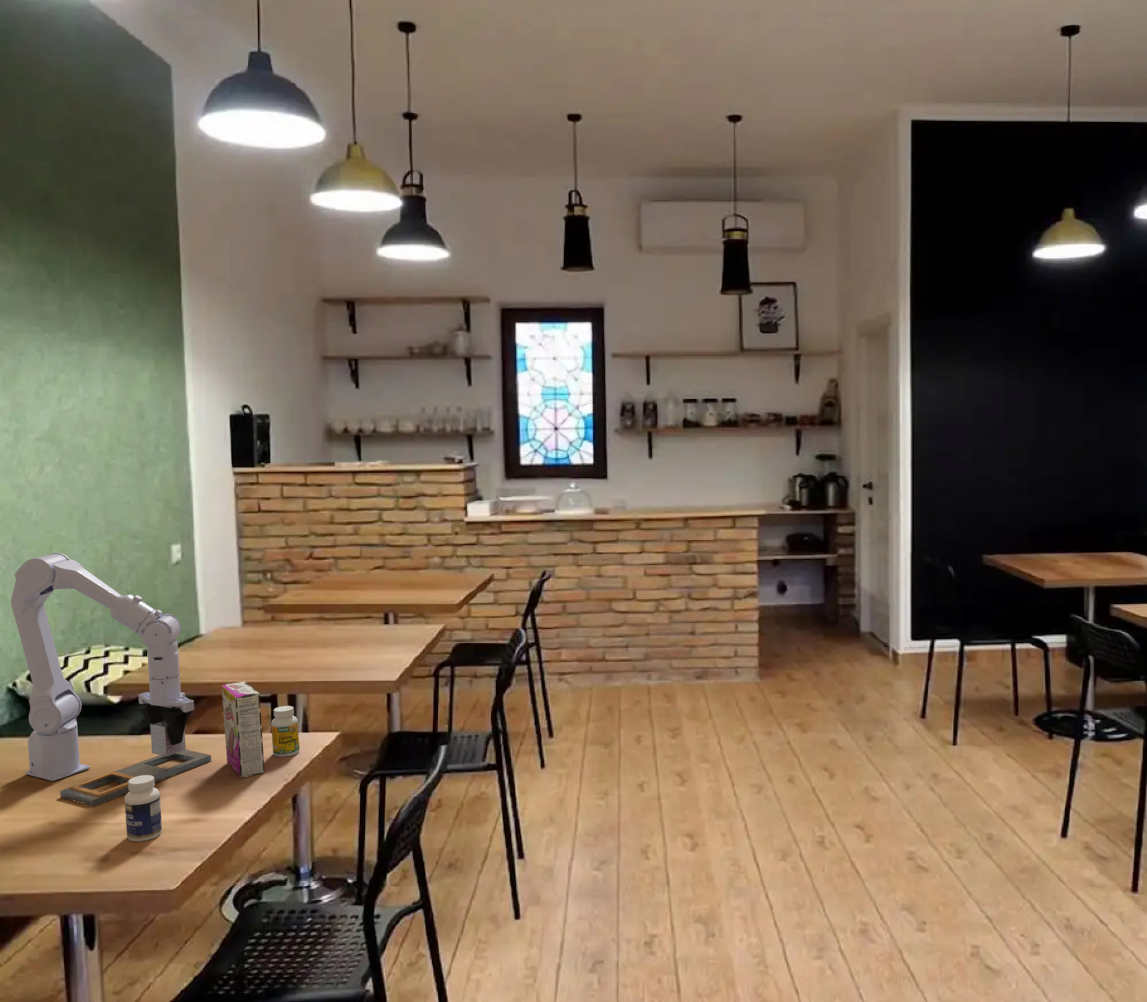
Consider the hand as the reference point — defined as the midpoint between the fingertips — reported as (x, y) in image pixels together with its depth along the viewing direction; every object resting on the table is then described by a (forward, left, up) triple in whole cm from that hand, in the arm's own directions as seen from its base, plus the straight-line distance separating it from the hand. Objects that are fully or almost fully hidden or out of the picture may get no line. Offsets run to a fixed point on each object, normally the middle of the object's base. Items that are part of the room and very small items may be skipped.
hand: (168, 741), depth 190 cm
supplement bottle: (+16, +16, -5) cm, 23 cm away
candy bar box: (+15, +6, -5) cm, 17 cm away
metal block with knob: (0, 0, -2) cm, 2 cm away
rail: (0, -7, -5) cm, 9 cm away
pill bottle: (+25, -24, -5) cm, 35 cm away
